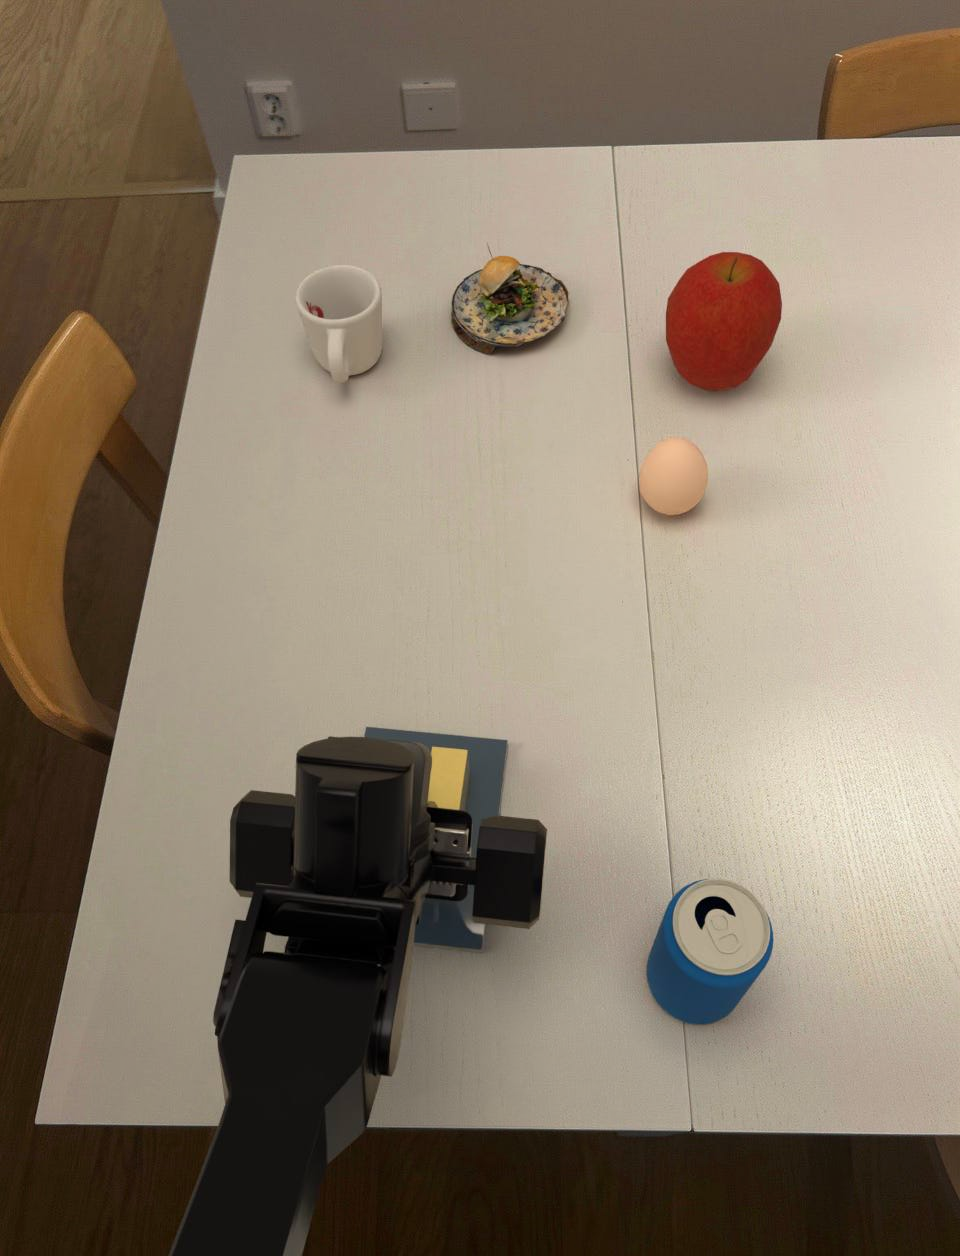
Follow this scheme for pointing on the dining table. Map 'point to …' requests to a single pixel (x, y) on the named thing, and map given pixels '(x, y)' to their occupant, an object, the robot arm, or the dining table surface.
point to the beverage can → (708, 950)
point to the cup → (342, 318)
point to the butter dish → (480, 806)
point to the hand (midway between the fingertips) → (411, 805)
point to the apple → (722, 319)
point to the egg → (673, 476)
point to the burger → (507, 304)
